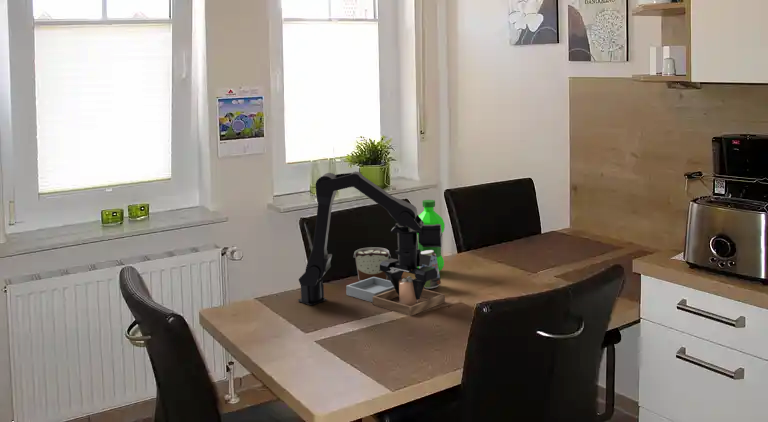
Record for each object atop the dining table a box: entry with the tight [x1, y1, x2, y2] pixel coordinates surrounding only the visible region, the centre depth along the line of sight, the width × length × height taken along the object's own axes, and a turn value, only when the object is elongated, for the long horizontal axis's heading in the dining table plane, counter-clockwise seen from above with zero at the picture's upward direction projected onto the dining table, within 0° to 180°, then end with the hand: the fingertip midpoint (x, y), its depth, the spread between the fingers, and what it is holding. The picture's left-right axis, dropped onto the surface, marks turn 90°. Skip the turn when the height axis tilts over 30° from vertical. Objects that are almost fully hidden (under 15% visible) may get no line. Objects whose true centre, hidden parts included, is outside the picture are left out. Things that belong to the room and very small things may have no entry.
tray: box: [345, 277, 395, 303], centre depth 250 cm, size 12×12×3 cm
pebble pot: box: [398, 276, 419, 306], centre depth 240 cm, size 6×6×8 cm
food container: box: [353, 246, 392, 282], centre depth 266 cm, size 12×6×10 cm, turn 84°
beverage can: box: [419, 250, 442, 290], centre depth 254 cm, size 6×7×12 cm
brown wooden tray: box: [372, 288, 446, 316], centre depth 240 cm, size 15×15×2 cm
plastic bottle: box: [417, 199, 446, 272], centre depth 268 cm, size 10×10×25 cm
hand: (408, 296), depth 240 cm, fingers open, 7 cm apart
